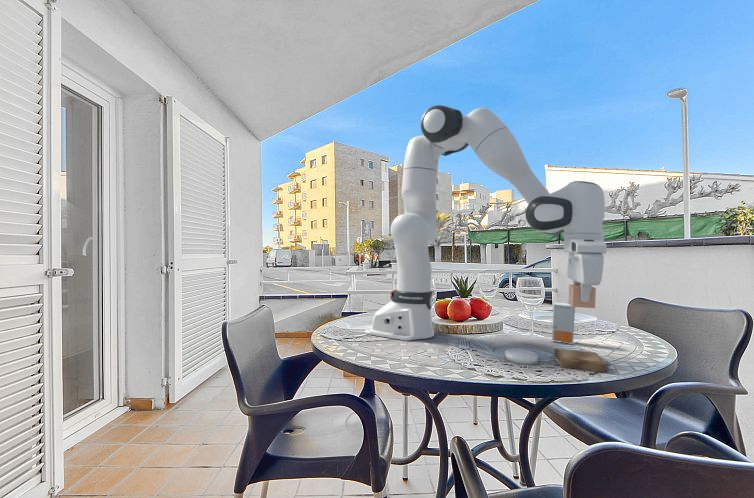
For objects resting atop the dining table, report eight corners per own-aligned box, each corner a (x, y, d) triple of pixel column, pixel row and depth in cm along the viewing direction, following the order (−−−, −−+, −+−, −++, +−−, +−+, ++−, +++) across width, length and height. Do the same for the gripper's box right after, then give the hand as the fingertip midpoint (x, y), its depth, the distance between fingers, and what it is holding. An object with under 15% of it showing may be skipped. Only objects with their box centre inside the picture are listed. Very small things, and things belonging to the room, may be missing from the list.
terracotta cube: (572, 306, 93) (573, 286, 93) (568, 303, 98) (569, 284, 98) (595, 308, 92) (595, 288, 92) (589, 305, 96) (590, 285, 96)
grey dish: (505, 361, 95) (505, 356, 95) (504, 353, 102) (504, 347, 102) (539, 365, 92) (539, 359, 92) (535, 356, 100) (535, 351, 100)
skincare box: (551, 342, 116) (553, 303, 115) (552, 339, 119) (553, 302, 119) (573, 345, 113) (575, 305, 113) (573, 342, 117) (575, 304, 116)
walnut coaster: (560, 367, 92) (560, 358, 92) (554, 355, 101) (554, 347, 101) (606, 372, 89) (606, 363, 89) (595, 360, 98) (595, 351, 98)
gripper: (562, 245, 105) (560, 293, 106) (578, 245, 86) (576, 304, 86) (587, 245, 104) (585, 295, 104) (609, 245, 84) (607, 306, 84)
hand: (581, 299), depth 95 cm, fingers closed on terracotta cube, 5 cm apart
